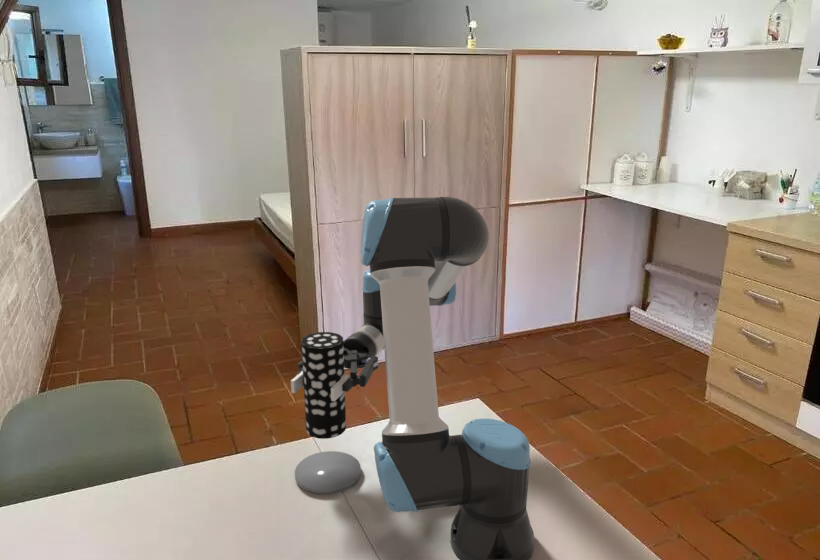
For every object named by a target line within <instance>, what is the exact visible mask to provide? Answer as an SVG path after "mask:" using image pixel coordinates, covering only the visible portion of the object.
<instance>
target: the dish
mask: <svg viewBox="0 0 820 560" xmlns="http://www.w3.org/2000/svg"><path fill="white" fill-rule="evenodd" d="M361 467H362V466H361V463H360V461H359V460H358V459H357V458H356V457H355V456H353V455H351V454H349V453H346V452H344V451H343V452H342V451H335V450H330V451H329V450H328V451H327V450H326V451H322V452H321V451H320V452H316V453H313V454H311V455H308V456H306V457H305V458H303V459H302V460H301V461H299V463H297V465H296V467H295V469H294V479H295V482H296V483H297V485H298V486H299V487H300V488H302V489H303V490H305V491H307V492H311V493H315V494H334V493H339V492H342V491H344V490H346V489H349V488H350V487H353V485H355V484H356V483H357V482H358V481H359V479H360V477H361V473H362V469H361Z"/></svg>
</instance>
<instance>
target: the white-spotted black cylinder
mask: <svg viewBox="0 0 820 560" xmlns="http://www.w3.org/2000/svg"><path fill="white" fill-rule="evenodd" d="M343 341H344V336H342V335H341V334H338V333H336V332H331V331H320V332H313V333H309V334H307V335H305V336H304V337H302V338H301V341H300V342H301V343H300V344H301V359H302V360H301V361H302V363H303V382H304V386H303V395H304V396H303V400H304V413H305V414H304V416H305V431H306V433H307V434H308V435H309V436H311V437H312V438H315V439H320V440H322V439H323V440H326V439H333V438H336V437H338V436H340V435H342V434H343V433H344V432H345V431H346V429H347V416H346V415H347V414H346V412H347V411H346V392H344V393H343V394H342V395H341V396H340V397H339V398H338V399H337V400H336V401H331V388H332V387H333V386H334V385H335V384H336V383H337V382H338V381H339V380H340V379H342V378H343V377H344V376H345V367H344V344H343Z"/></svg>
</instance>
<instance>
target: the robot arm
mask: <svg viewBox="0 0 820 560" xmlns="http://www.w3.org/2000/svg"><path fill="white" fill-rule="evenodd" d="M362 218H363V219H362V226H361V234H360V263H361V265H362V266H365V267H369V268H368V269H367V270H365V271H364V273H363V274H362V302H363V305H362V306H363V307H362V309H363V325H362V326H360V327H359V328H357V330H355V331H354V332H353V333H352V334H351V335H349V336H347V338H345V340H344V339H343V344H344V369H350V371H349V374H346V373H345V374H344V377H343V378H342V379H340V380H339V381H338V382H337V383H336V384H335V385H334V386H333V387H332V388H331V401H336V400H337V399H338V398H339V397H340V396H341V395H342V394H343V393H344V392H345V393H347V392H350V391H351V389H352V388H354V387H356V386H357V385H358V386H360V388H365V387H366V386H367V384H368V381H369V380H370V378H371V377H372V375H373V373H374V372H375V371H376V370H377V369H378V368H379V357H378V355H379V354H380V353H381V352H382V351H383V350H384V360H385V375H386V377H385V378H386V388H387V391H386V392H387V400H388V401H387V402H388V413H389V414H388V415H389V420H388V423H387V424H386V426H385V427H384V428H383V429H382V430H381V440H382V441H378V442H377V443H375V444H374V446H373V451H374V460H375V467H376V471H377V476H378V482H379V485H380V489H381V492H382V496H383V499H384V502H385V504H386V506H387V508H388V509H389V510H390V511H392V512H395V513H403V512H404V513H405V512H414V513H417V512H418V511H424V510H431V509H441V508H447V507H455V506H459V507H458V509H457V511H456V514H455V516H454V519H453V520H452V523H451V526H450V539H449V540H450V546H451V549H452V550H453V552H454V554H455V555H456V556H457V557H458V558H459V560H530V559H531V558H532V556H533V553H534V550H535V549H534V547H535V534H534V530H533V528H532V524H531V521H530V518H529V514H528V510H527V503H528V502H527V501H528V488H529V475H530V466H531V463H532V462H531V455H530V454H531V453H530V449H531V448H530V447H531V446H530V442H529V439H528V437H527V436H526V435H525V434H524V433H523V432H522V431H521V430H520V429H519V428H517V427H516V426H514V425H512V424H510V423H507V422H506V421H502V420H500V419H494V418H476V419H473V420H470V421H469V422H467V423H466V424H465V425H464V427H463V429H462V431H461V432H462V433H461V434H456V435H453V434H452V435H450V428H449V425H448V424H447V423H446V422H445V421H444V420H442V419H441V418H440V416H439V404H438V403H439V402H438V400H439V399H438V393H437V392H438V391H437V380H436V365H435V354H434V353H435V352H434V343H433V342H434V341H433V329H432V318H431V307H433V306H438V307H439V306H440V307H441V306H445V305H452V304H453V303H454V302H455V301H456V296H457V285H456V282H457V281H458V280H459V278H460V277H461V275H462V274H463V273H464V272H465V270H466V269H467V267H469V266H471V265H474V264H475V263H476V262H478V261H479V260H480V259H481V257H482V256H483V255H484V254H485V252H486V250H487V247H488V244H489V240H490V238H489V237H490V233H489V227H488V224H487V223H486V220H485V218H484V216H483V215H482V214H481V213H480V212H479V210H477V208H476V207H474V206H473V205H471V204H470V203H469V202H467V201H465V200H462V199H460V198H458V197H451V196H439V197H390V198H384V199H375V200H371V201H370V202H368V203H367V205H366V206H365V208H364V212H363V217H362ZM430 306H431V307H430ZM358 369H362V370H361V372H360V373H359V375H358ZM302 388H304V382H303V363H302V360H301V361H298V362H297V373H296V374H295V376H294V378H292V379H291V380H290V391H291V394H296V393H297V392H298V391H299V390H300V389H302Z"/></svg>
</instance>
